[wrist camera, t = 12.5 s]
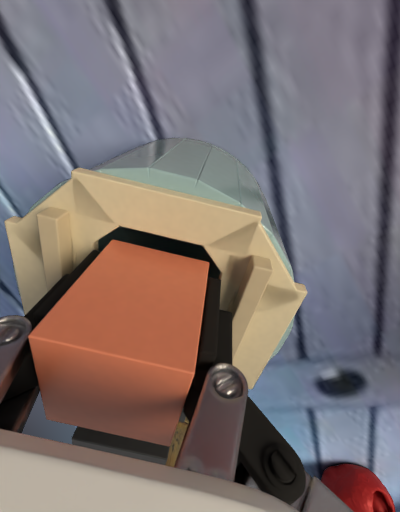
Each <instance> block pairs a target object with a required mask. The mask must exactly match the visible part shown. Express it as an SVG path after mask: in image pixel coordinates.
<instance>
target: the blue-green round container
mask: <svg viewBox="0 0 400 512" xmlns="http://www.w3.org/2000/svg"><path fill="white" fill-rule="evenodd" d="M89 170H91V171H95V172H99V173H104V174H108V175H112V176H116V177H120V178H124V179H128V180H132V181H137V182H141V183H145V184H149V185H153V186H157V187H161V188H165V189H169V190H174V191H178V192H182V193H186V194H190V195H194V196H198V197H202V198H207V199H211V200H215V201H219V202H223V203H227V204H231V205H235V206H240V207H244V208H248V209H252V210H256V211H260V212H261V216H262V219H261V224H262V226H263V228H264V229H265V231H266V233H267V235H268V236H269V238H270V240H271V242H272V244H273V245H274V247H275V249H276V251H277V252H278V254H279V256H280V258H281V260H282V261H283V263H284V265H285V267H286V269H287V270H288V272H289V274H290V276H291V277H292V279H293V281H294V277H293V271H292V267H291V265H290V262H289V259H288V257H287V254H286V251H285V249H284V246H283V243H282V241H281V238H280V235H279V233H278V230H277V227H276V225H275V222H274V219H273V217H272V214H271V211H270V209H269V206H268V203H267V201H266V198H265V196H264V194H263V193H262V191H261V188H260V186H259V185H258V183H257V181H256V179H255V178H254V176H253V175H252V174H251V173H250V172H249V170H248V169H247V168H246V167H245V166H244V165H243V164H242V163H241V162H240V161H239V160H237V159H236V158H235V157H234V156H232V155H231V154H229V153H228V152H226V151H225V150H223V149H221V148H219V147H216V146H214V145H212V144H209V143H206V142H203V141H200V140H194V139H188V138H169V139H160V140H156V141H153V142H150V143H147V144H145V145H142V146H139V147H137V148H134V149H132V150H130V151H128V152H126V153H123V154H121V155H119V156H117V157H115V158H113V159H110V160H108V161H106V162H104V163H102V164H100V165H98V166H95V167H93V168H91V169H89ZM70 179H71V178H70ZM70 179H67V180H65V181H63V182H61V183H59V184H58V185H57V186H56V187H54V188H53V189H52V190H51V191H49V192H48V193H47V194H46V195H45V196H43V197H42V198H41V199H40V200H38V201H37V202H36V203H35V204H34V205H33V206H32V207H31V208H30V210H29V212H30V211H32V210H33V209H34V208H35V207H37V206H38V205H39V204H40V203H41V202H43V201H44V200H45V199H46V198H48V197H49V196H50V195H51V194H53V193H54V192H55V191H56V190H58V189H59V188H60V187H61V186H62V185H64V184H65V183H66V182H67V181H69V180H70ZM29 212H28V213H29ZM113 239H114V240H118V241H122V242H126V243H131V244H135V245H139V246H143V247H147V248H152V249H156V250H160V251H164V252H168V253H172V254H177V255H181V256H185V257H189V258H193V259H198V260H202V261H206V262H209V271H208V278H207V280H208V279H209V277H211V278H215V279H218V278H219V275H220V272H221V271H220V270H219V268H218V267H217V266H216V264H215V263H214V261H213V260H212V259H211V257H210V256H209V254H208V253H207V251H206V250H205V249H204V247H203V246H201V245H197V244H193V243H189V242H185V241H180V240H176V239H172V238H168V237H164V236H159V235H155V234H151V233H147V232H143V231H138V230H134V229H130V228H126V227H122V226H119V227H118V228H116V229H115V230H113V231H112V232H110V233H108V234H107V235H105V236H104V237H102V238H101V239H99V240H98V251H101V252H102V251H103V249H104V248H105V247H106V246H107V245H108V244H109V243H110V241H111V240H113ZM13 264H14V263H13ZM13 268H14V265H13ZM14 272H15V268H14ZM15 277H16V272H15ZM16 281H17V277H16ZM17 286H18V282H17ZM18 290H19V286H18ZM19 294H20V291H19ZM20 296H21V295H20ZM294 316H295V315H294ZM293 322H294V317H293V319H292V320H291V322H290V324H289V326H288V327H287V329H286V331H285V333H284V334H283V336H282V338H281V340H280V341H279V343H278V345H277V347H276V348H275V350H274V352H273V354H272V355H271V357H270V359H269V360H271V359H272V358H273V357H274V356H275V355H276V354H277V352H279V350H280V349H281V347H282V345H283V344H284V342H285V340H286V339H287V337H288V335H289V333H290V332H291V329H292V327H293Z"/></svg>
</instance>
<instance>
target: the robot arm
mask: <svg viewBox="0 0 400 512" xmlns="http://www.w3.org/2000/svg"><path fill="white" fill-rule="evenodd" d="M100 253H101V251H97V250H93V251H91V252H90V254H89V255H88V256H87V257H86V258H85V259H84V260H83V261H82V262H81V263H80V264H79V265H78V266H77V267H76V268H75V269H74V270H73V272H72V273H71V274H65V275H64V276H63V277H62V278H61V279H60V280H59V281H58V282H57V283H56V284H55V285H54V286H53V287H52V288H51V289H50V290H49V291H48V292H47V293H46V294H45V295H44V296H43V297H42V298H41V299H40V300H39V301H38V303H37V304H36V305H35V306H34V307H33V308H32V309H31V310H30V311H29V312H28V313H27V314H26V315H25V316H24V317H23V316H18V315H12V316H5V317H1V318H0V512H354V511H353V510H351V509H350V508H349V507H348V506H347V505H346V504H345V503H344V502H343V501H342V500H341V499H340V498H338V497H337V496H336V495H335V494H334V493H333V492H332V491H331V490H330V489H329V488H328V487H327V486H326V485H324V484H323V483H322V482H321V481H320V480H319V479H318V478H317V477H316V476H314V477H313V478H312V477H311V476H310V475H309V474H308V473H307V472H306V471H305V470H304V467H303V464H302V462H301V460H300V458H299V457H298V455H297V454H296V452H295V451H294V450H293V448H292V447H291V446H290V445H289V444H288V443H287V441H286V440H285V439H284V438H283V437H282V435H281V434H280V433H279V432H278V431H277V430H276V428H275V427H274V426H273V425H272V424H271V423H270V421H269V420H268V419H267V418H266V417H265V415H264V414H263V413H262V412H261V411H260V410H259V408H258V407H257V406H256V405H255V404H254V403H253V401H252V400H251V399H250V398H249V397H248V383H247V380H246V378H245V376H244V375H243V373H242V372H241V371H240V370H239V369H238V368H236V367H235V366H233V364H232V312H228V311H224V310H220V293H221V280H220V279H215V278H211V277H209V279H208V280H207V286H206V293H205V301H204V308H203V316H202V323H201V330H200V338H199V345H198V353H197V360H196V368H195V374H194V377H193V380H192V383H191V386H190V389H189V392H188V395H187V398H186V401H185V404H184V407H183V408H184V410H183V413H184V414H185V416H186V417H187V419H188V420H189V423H188V426H187V429H186V432H185V435H184V438H183V441H182V444H181V447H180V450H179V453H178V456H177V459H176V462H175V465H174V467H170V466H165V465H161V464H157V463H152V462H148V461H143V460H139V459H134V458H130V457H126V456H121V455H117V454H112V453H108V452H103V451H99V450H94V449H90V448H85V447H81V446H76V445H71V444H67V443H62V442H58V441H53V440H49V439H44V438H40V437H35V436H31V435H26V434H21V433H22V431H23V428H24V426H25V424H26V422H27V419H28V417H29V414H30V412H31V410H32V408H33V405H34V403H35V401H36V398H37V396H38V394H39V391H40V388H39V383H38V379H37V374H36V370H35V366H34V361H33V357H32V352H31V348H30V343H29V339H28V336H29V334H30V333H31V332H32V331H33V329H34V328H35V327H36V326H37V325H38V324H39V323H40V321H41V320H42V319H43V318H44V317H45V316H46V315H47V313H48V312H49V311H50V310H51V309H52V308H53V307H54V305H55V304H56V303H57V302H58V301H59V300H60V299H61V297H62V296H63V295H64V294H65V293H66V292H67V291H68V289H69V288H70V287H71V286H72V285H73V284H74V283H75V281H76V280H77V279H78V278H79V277H80V276H81V275H82V273H83V272H84V271H85V270H86V269H87V268H88V267H89V265H90V264H91V263H92V262H93V261H94V260H95V259H96V257H97V256H98V255H99V254H100Z"/></svg>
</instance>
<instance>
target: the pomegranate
mask: <svg viewBox="0 0 400 512" xmlns="http://www.w3.org/2000/svg"><path fill="white" fill-rule="evenodd" d="M321 482H322V483H323V484H324V485H326V486H327V487H328V488H329V489H330V490H331V491H332V492H333V493H334V494H335V495H336V496H337V497H338V498H340V499H341V500H342V501H343V502H344V503H345V504H346V505H347V506H348V507H349V508H350V509H351V510H353V511H354V512H395V507H394V503H393V500H392V498H391V496H390V494H389V493H388V491H387V489H386V487H385V486H384V485H383V484H382V482H381V481H380V480H379V478H378V477H377V476H376V475H375V474H374V473H373V472H371V471H370V470H369V469H367V468H365V467H361V466H357V465H353V464H340V465H338V466H331V467H328V468H327V469H325V470H324V473H323V475H322V478H321Z"/></svg>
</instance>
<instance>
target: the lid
mask: <svg viewBox="0 0 400 512" xmlns="http://www.w3.org/2000/svg"><path fill="white" fill-rule="evenodd" d="M261 219H262V216H261V212H260V211H256V210H252V209H248V208H244V207H240V206H235V205H231V204H227V203H223V202H219V201H215V200H211V199H207V198H202V197H198V196H194V195H190V194H186V193H182V192H178V191H174V190H169V189H165V188H161V187H157V186H153V185H149V184H145V183H141V182H137V181H132V180H128V179H124V178H120V177H116V176H112V175H108V174H104V173H99V172H95V171H91V170H87V169H83V168H77V169H74V170H72V171H71V179H70V180H69V181H67V182H66V183H65V184H64V185H62V186H61V187H60V188H59V189H58V190H56V191H55V192H54V193H53V194H51V195H50V196H49V197H48V198H46V199H45V200H44V201H43V202H41V203H40V204H39V205H38V206H37V207H35V208H34V209H33V210H32V211H30V212H29V213H28V214H27V215H25V216H24V217H23V218H20V217H16V216H13V217H11V218H9V219H7V220H5V227H6V231H7V236H8V240H9V245H10V250H11V254H12V259H13V263H14V268H15V272H16V277H17V282H18V286H19V291H20V295H21V300H22V304H23V309H24V314H25V315H26V314H27V313H28V312H29V311H30V310H31V309H32V308H33V307H34V306H35V305H36V304H37V303H38V301H39V300H40V299H41V298H42V297H43V296H44V295H45V294H46V293H47V292H48V291H49V290H50V289H51V288H52V287H53V286H54V285H55V284H56V283H57V282H58V281H59V280H60V279H61V278H62V277H63V276H64V275H65V274H71V273H72V272H73V270H74V269H75V268H76V267H77V266H78V265H79V264H80V263H81V262H82V261H83V260H84V259H85V258H86V257H87V256H88V255H89V254H90V252H91V251H93V250H97V251H98V240H99V239H101V238H102V237H104V236H105V235H107V234H108V233H110V232H112V231H113V230H115V229H116V228H118V227H119V226H122V227H126V228H130V229H134V230H138V231H143V232H147V233H151V234H155V235H159V236H164V237H168V238H172V239H176V240H180V241H185V242H189V243H193V244H197V245H201V246H203V247H204V249H205V250H206V251H207V253H208V254H209V256H210V257H211V259H212V260H213V261H214V263H215V264H216V266H217V267H218V268H219V270H220V271H221V272H220V275H219V278H218V279H220V280H221V293H220V310H224V311H228V312H232V364H233V366H235V367H236V368H238V369H239V370H240V371H241V372H242V373H243V375H244V376H245V378H246V380H247V383H248V389H252V388H253V387H254V385H255V383H256V382H257V380H258V378H259V376H260V375H261V373H262V371H263V369H264V368H265V366H266V364H267V362H268V361H269V359H270V357H271V355H272V354H273V352H274V350H275V348H276V347H277V345H278V343H279V341H280V340H281V338H282V336H283V334H284V333H285V331H286V329H287V327H288V326H289V324H290V322H291V320H292V319H293V317H294V315H295V314H296V312H297V310H298V308H299V307H300V305H301V303H302V301H303V300H304V298H305V296H306V294H307V290H306V288H305V285H303V284H299V283H295V282H294V281H293V279H292V277H291V276H290V274H289V272H288V270H287V269H286V267H285V265H284V263H283V261H282V260H281V258H280V256H279V254H278V252H277V251H276V249H275V247H274V245H273V244H272V242H271V240H270V238H269V236H268V235H267V233H266V231H265V229H264V228H263V226H262V224H261Z"/></svg>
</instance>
